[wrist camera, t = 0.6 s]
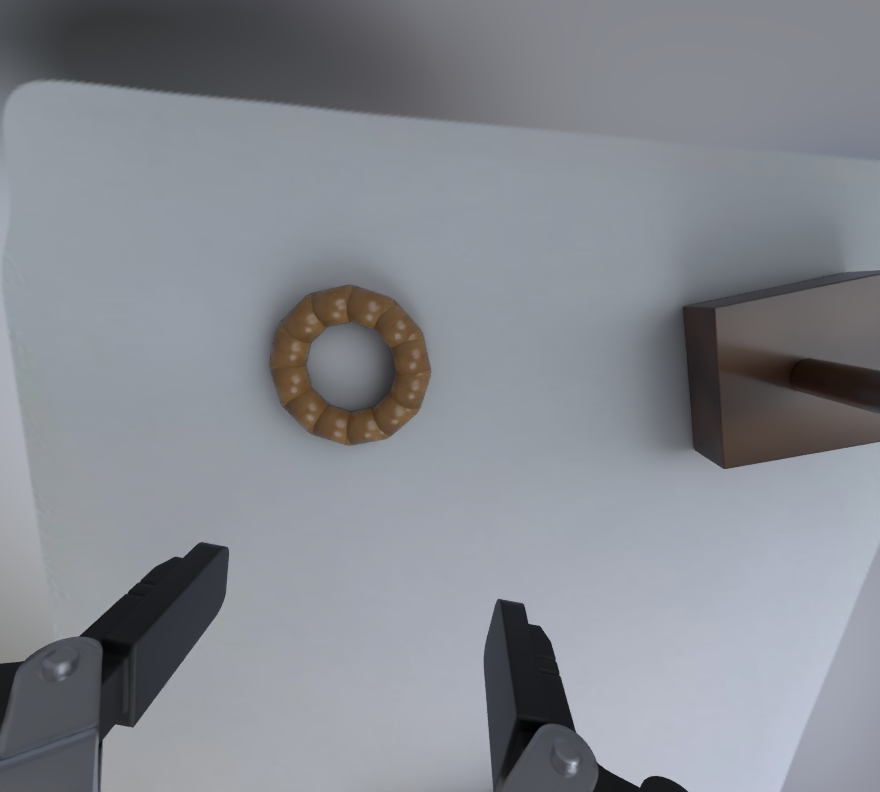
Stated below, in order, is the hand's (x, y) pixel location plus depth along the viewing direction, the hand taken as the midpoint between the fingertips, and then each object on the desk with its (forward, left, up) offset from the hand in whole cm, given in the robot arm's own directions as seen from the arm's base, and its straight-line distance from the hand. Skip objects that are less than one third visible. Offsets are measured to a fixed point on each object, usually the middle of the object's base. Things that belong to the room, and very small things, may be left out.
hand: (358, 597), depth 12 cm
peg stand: (0, +22, -15) cm, 26 cm away
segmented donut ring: (-5, -2, -14) cm, 15 cm away
